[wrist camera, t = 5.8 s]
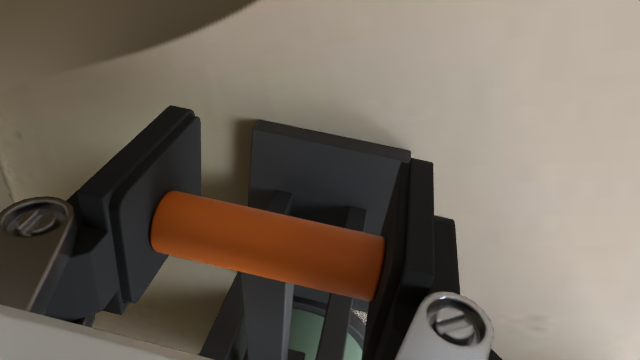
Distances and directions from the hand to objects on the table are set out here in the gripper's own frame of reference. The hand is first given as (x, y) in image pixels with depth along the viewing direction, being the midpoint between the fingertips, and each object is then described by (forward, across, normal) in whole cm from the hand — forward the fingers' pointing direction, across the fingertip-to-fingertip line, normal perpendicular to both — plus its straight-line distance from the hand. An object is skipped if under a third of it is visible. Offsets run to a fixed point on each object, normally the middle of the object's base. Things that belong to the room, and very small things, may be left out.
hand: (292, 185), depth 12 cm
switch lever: (0, 0, +5) cm, 5 cm away
